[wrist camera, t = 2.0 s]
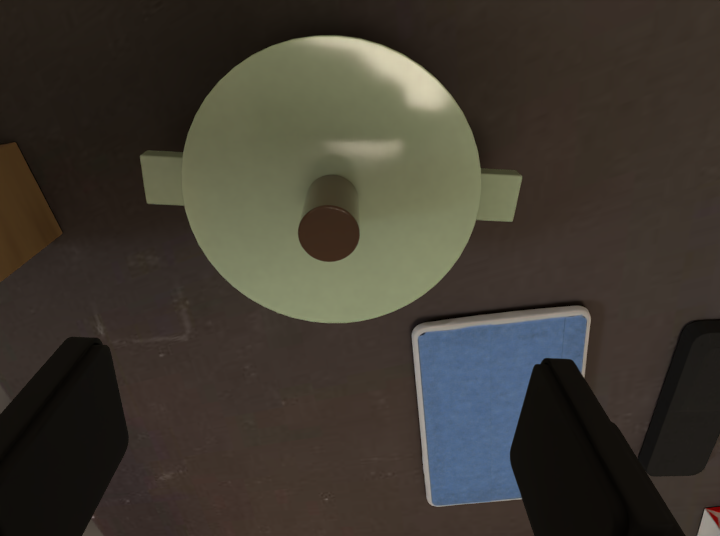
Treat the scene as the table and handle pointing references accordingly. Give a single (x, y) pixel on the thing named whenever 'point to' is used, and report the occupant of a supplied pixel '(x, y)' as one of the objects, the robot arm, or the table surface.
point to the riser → (21, 213)
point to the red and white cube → (710, 522)
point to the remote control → (687, 406)
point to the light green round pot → (167, 190)
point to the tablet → (483, 394)
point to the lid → (331, 179)
